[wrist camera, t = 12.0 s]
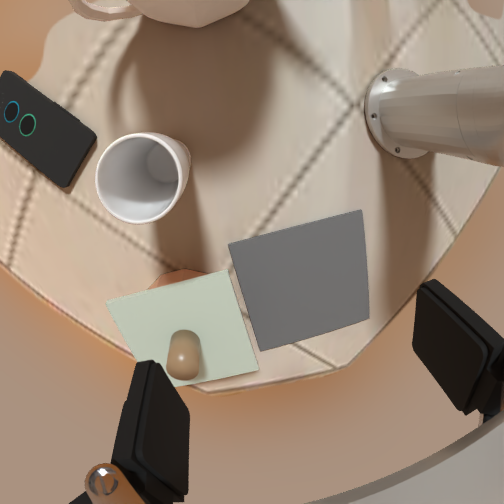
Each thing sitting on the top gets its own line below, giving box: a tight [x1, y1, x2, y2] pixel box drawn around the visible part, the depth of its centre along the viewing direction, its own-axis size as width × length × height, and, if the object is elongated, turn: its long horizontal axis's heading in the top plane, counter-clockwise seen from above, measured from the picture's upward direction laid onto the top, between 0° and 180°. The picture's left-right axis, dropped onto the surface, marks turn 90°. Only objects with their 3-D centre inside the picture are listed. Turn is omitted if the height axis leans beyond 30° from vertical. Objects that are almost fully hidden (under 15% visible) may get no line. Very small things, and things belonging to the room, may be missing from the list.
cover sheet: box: [105, 269, 259, 387], centre depth 33 cm, size 15×15×6 cm
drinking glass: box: [95, 132, 191, 225], centre depth 26 cm, size 7×7×15 cm
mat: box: [228, 210, 369, 351], centre depth 41 cm, size 18×18×1 cm
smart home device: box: [0, 70, 97, 188], centre depth 28 cm, size 8×2×20 cm
